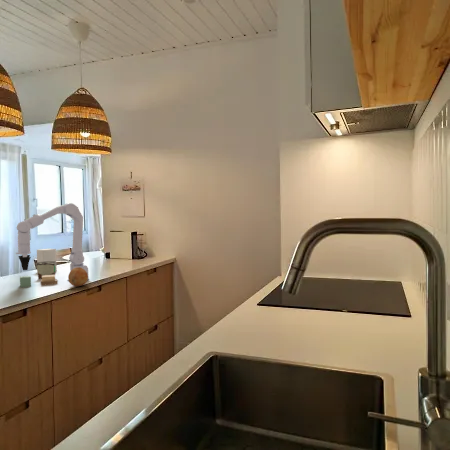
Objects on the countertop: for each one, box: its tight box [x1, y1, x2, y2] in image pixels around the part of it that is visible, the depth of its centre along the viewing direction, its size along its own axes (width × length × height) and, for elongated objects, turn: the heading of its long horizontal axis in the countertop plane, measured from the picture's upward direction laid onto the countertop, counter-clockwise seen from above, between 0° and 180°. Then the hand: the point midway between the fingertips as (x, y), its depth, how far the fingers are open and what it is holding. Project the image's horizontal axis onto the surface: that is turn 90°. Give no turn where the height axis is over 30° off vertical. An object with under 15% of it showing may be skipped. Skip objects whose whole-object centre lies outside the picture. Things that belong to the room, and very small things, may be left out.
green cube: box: [19, 275, 32, 288], centre depth 209 cm, size 5×5×5 cm
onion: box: [67, 267, 89, 287], centre depth 205 cm, size 10×10×10 cm
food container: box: [35, 261, 58, 280], centre depth 232 cm, size 12×6×10 cm, turn 84°
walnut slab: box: [39, 278, 59, 286], centre depth 215 cm, size 8×8×2 cm
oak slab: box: [41, 274, 56, 282], centre depth 215 cm, size 6×6×2 cm
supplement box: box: [36, 248, 58, 272], centre depth 261 cm, size 9×9×15 cm
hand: (24, 269), depth 209 cm, fingers open, 7 cm apart
